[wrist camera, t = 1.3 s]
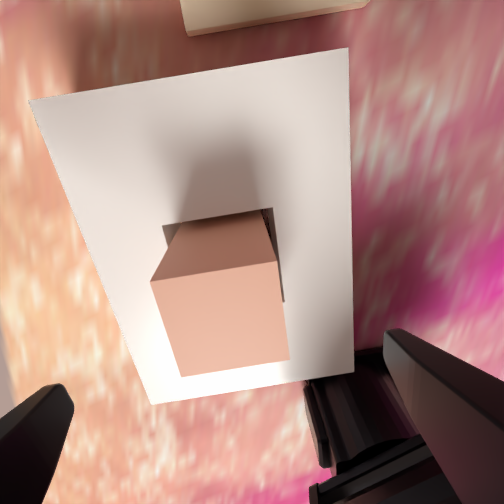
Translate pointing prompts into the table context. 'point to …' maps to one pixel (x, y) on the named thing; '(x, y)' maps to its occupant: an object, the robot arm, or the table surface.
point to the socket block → (217, 199)
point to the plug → (221, 295)
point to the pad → (254, 12)
